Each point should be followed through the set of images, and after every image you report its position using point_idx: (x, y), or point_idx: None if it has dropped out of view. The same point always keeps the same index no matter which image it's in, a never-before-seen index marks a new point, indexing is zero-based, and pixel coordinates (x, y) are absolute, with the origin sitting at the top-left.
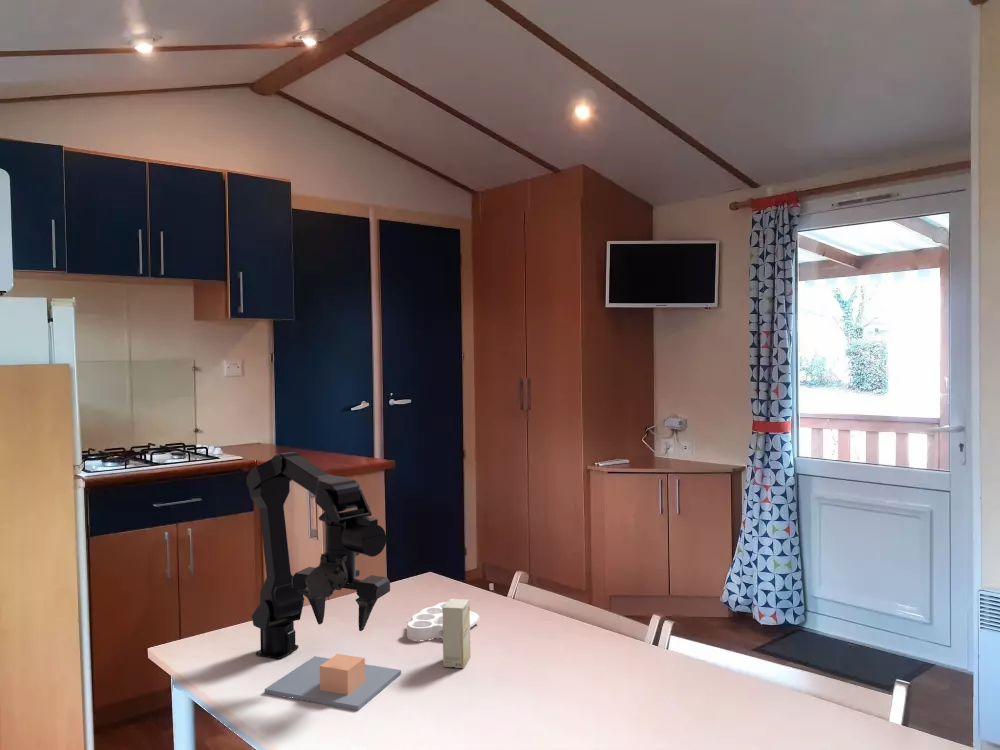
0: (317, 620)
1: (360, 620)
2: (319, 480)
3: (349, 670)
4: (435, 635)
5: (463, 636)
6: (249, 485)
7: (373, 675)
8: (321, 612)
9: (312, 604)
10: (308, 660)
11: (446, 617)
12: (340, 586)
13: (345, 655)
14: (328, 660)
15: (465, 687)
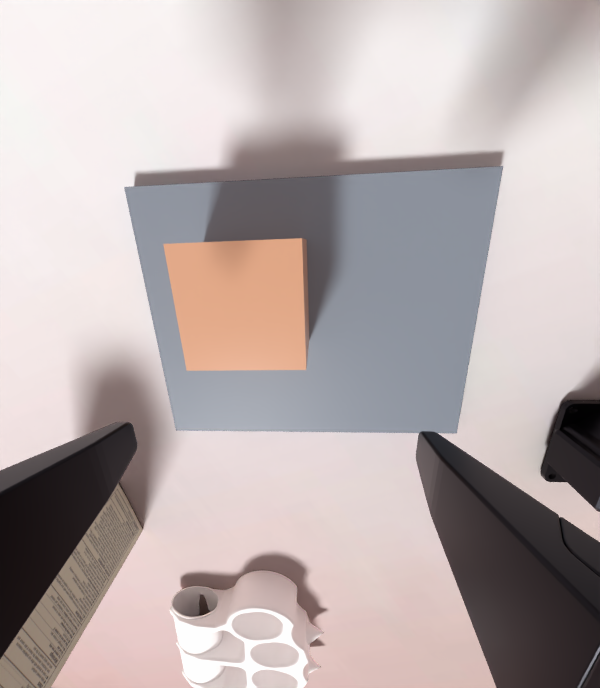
0: (444, 442)
1: (43, 459)
2: None
3: (168, 258)
4: (228, 596)
5: None
6: None
7: (220, 381)
8: (448, 512)
9: (591, 556)
10: (460, 405)
11: None
12: None
13: (267, 366)
14: (300, 302)
15: (5, 410)
